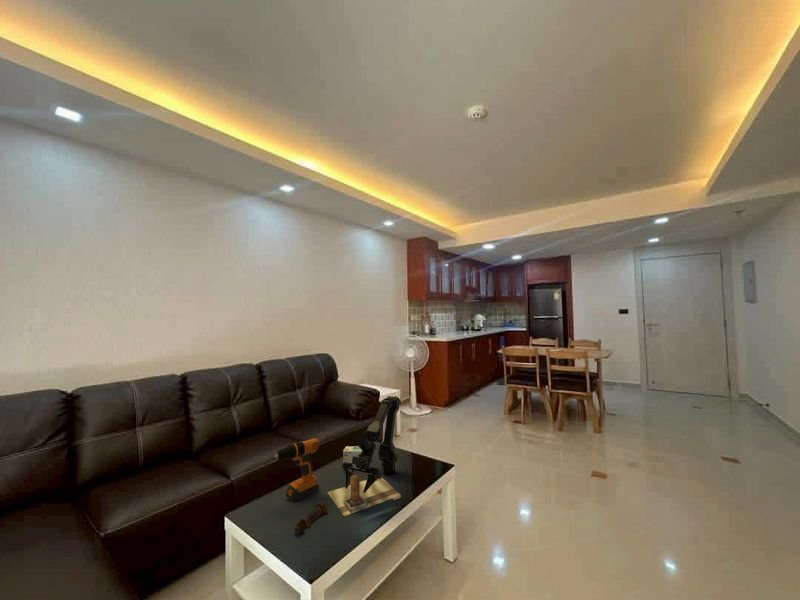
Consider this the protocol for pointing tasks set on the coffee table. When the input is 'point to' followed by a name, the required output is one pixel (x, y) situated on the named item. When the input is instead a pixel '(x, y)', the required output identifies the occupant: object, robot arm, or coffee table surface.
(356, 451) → the light bulb box
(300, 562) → the coffee table surface
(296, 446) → the power drill
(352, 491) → the brown piece
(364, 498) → the subfloor panel
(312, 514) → the bolt
